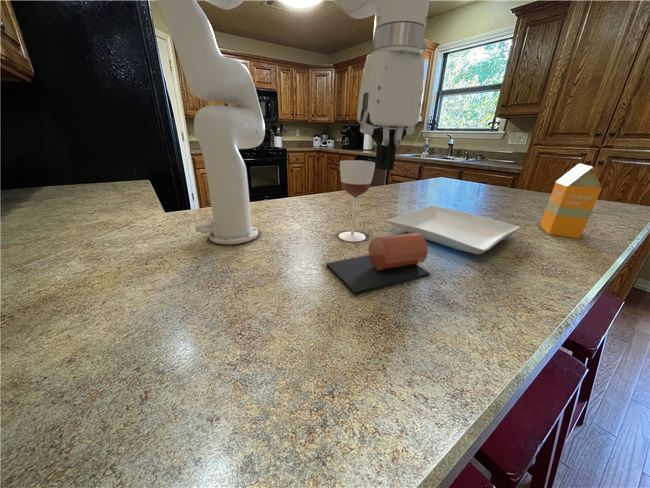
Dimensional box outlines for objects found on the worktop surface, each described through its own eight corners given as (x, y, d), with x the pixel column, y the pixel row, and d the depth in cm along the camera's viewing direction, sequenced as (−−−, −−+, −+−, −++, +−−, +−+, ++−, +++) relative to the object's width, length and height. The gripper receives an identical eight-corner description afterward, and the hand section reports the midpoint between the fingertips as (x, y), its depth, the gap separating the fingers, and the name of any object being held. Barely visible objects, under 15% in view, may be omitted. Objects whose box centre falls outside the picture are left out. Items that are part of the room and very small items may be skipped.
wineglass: (367, 243, 70) (374, 164, 62) (334, 240, 72) (337, 162, 64) (368, 232, 77) (375, 161, 70) (338, 230, 79) (342, 159, 71)
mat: (354, 294, 48) (355, 291, 48) (326, 265, 58) (326, 263, 58) (429, 275, 56) (430, 273, 55) (393, 252, 65) (393, 250, 65)
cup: (387, 244, 51) (430, 239, 54) (370, 233, 57) (409, 228, 60) (383, 276, 54) (424, 268, 57) (367, 261, 59) (405, 255, 63)
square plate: (481, 264, 61) (486, 249, 59) (384, 230, 79) (385, 218, 78) (518, 237, 77) (523, 224, 76) (430, 214, 96) (432, 203, 94)
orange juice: (548, 234, 80) (574, 165, 72) (539, 225, 88) (562, 162, 80) (580, 238, 77) (612, 167, 69) (568, 229, 85) (595, 163, 77)
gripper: (417, 57, 47) (403, 165, 54) (342, 44, 41) (337, 167, 48) (452, 47, 41) (430, 170, 48) (370, 30, 35) (359, 174, 42)
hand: (384, 168), depth 48 cm, fingers closed
